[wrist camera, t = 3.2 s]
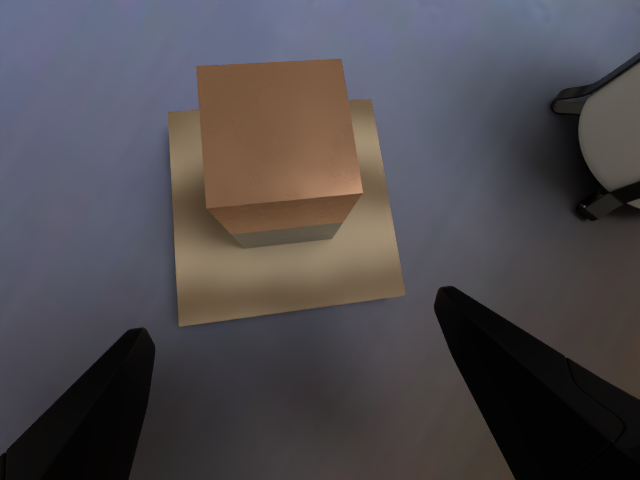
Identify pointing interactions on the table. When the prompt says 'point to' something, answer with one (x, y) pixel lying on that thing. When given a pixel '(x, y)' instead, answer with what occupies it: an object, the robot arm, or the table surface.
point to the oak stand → (279, 260)
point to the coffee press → (609, 137)
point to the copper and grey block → (278, 150)
